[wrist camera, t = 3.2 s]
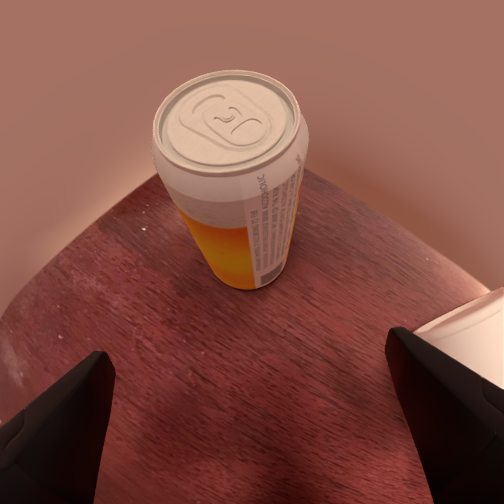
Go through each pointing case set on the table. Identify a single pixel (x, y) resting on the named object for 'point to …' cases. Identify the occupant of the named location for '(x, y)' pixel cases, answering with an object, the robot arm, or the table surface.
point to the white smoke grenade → (472, 335)
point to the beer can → (234, 169)
